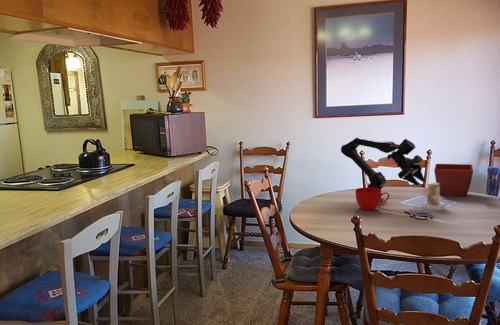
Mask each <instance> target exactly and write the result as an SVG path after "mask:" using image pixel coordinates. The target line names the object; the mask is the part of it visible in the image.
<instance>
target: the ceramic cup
mask: <svg viewBox="0 0 500 325" xmlns="http://www.w3.org/2000/svg"><path fill="white" fill-rule="evenodd" d="M383 195H387V197H386V198H385V199H383V200H381V198H382V196H383ZM389 198H390V194H389V193H388V192H386V191H385V192H382V189H381V190H380V189H377V188H368V187H360V188H359V187H358V188H356V189H355V199H356V202H357V205H358V206H359V207H360V208H361V209H362V210H363V211H375V209H376V208H377V207H378V206H379V205H380V204H382V203H384V202H386V201H388V200H389Z"/></svg>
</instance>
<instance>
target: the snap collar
mask: <svg viewBox="0 0 500 325" xmlns="http://www.w3.org/2000/svg"><path fill="white" fill-rule="evenodd" d="M443 206H444V203H441V202H439V205H438V206H435V205H428V204H427V202H425V203H423V204H422V207H426V208H433V209H440V208H441V207H443ZM426 208H425V209H426Z"/></svg>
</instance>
